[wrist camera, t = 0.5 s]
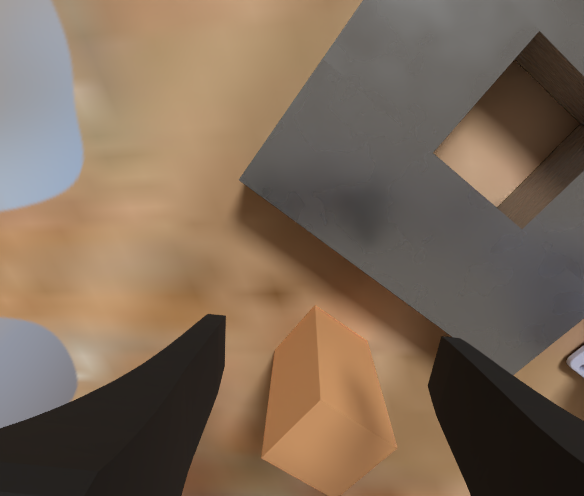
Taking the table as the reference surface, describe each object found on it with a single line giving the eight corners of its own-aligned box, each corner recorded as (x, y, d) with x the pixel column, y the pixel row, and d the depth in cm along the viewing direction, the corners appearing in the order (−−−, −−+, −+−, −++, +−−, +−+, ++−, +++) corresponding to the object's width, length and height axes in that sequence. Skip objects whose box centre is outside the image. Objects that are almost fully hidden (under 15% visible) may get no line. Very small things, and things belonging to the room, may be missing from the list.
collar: (773, 96, 17) (864, 92, 15) (483, 346, 23) (509, 378, 20) (514, -212, 14) (568, -296, 11) (248, 170, 19) (238, 180, 17)
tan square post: (367, 341, 23) (397, 447, 16) (325, 382, 24) (335, 499, 17) (315, 305, 22) (320, 399, 15) (274, 350, 24) (261, 458, 16)
